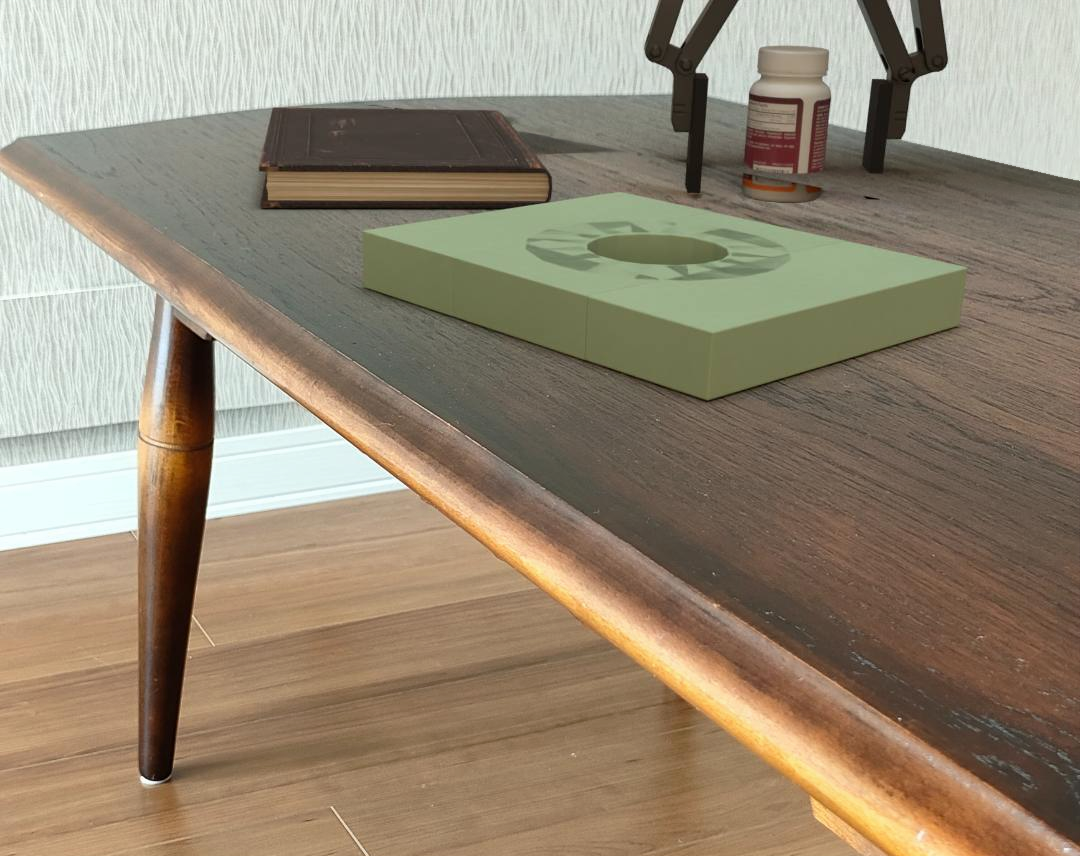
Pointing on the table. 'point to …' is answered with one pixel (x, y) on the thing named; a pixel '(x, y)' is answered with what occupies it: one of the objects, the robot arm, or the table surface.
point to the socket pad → (666, 288)
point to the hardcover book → (398, 160)
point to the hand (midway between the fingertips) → (780, 192)
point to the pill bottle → (787, 122)
